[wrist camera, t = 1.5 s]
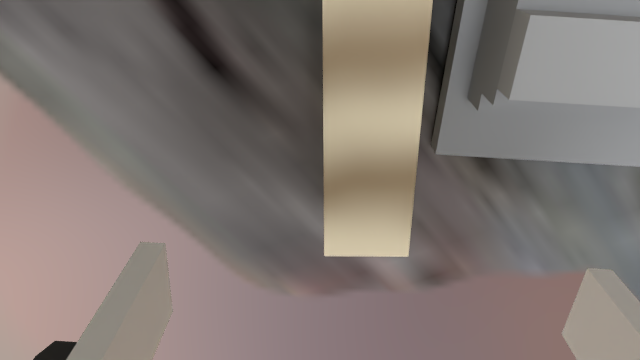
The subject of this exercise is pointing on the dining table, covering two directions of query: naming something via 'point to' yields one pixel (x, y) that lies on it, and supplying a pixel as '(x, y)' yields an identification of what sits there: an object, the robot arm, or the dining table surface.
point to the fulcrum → (542, 82)
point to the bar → (372, 122)
